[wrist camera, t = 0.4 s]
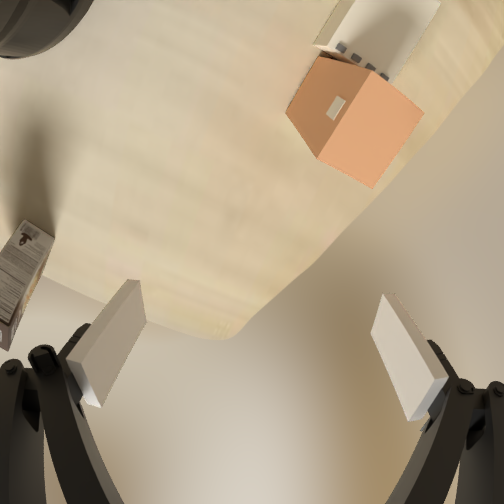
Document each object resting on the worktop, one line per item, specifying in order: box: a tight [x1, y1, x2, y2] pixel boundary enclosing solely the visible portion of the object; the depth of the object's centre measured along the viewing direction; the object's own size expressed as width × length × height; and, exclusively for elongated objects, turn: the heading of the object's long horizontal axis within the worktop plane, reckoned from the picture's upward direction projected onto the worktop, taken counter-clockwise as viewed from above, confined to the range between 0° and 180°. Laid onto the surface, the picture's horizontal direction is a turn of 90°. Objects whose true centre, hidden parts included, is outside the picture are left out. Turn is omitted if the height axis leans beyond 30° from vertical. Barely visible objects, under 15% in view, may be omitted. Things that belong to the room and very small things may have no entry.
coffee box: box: [0, 219, 55, 351], centre depth 29 cm, size 9×6×16 cm
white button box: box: [313, 0, 441, 85], centre depth 18 cm, size 7×12×5 cm, turn 154°
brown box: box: [285, 56, 424, 189], centre depth 21 cm, size 5×7×12 cm
